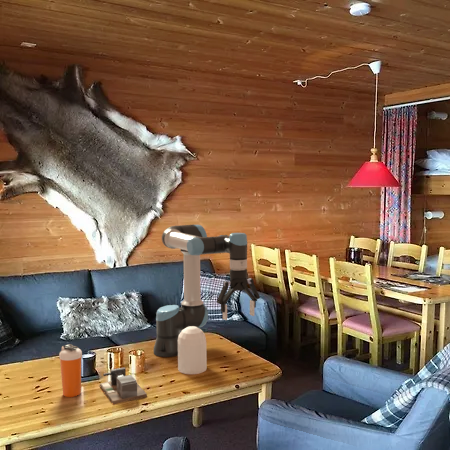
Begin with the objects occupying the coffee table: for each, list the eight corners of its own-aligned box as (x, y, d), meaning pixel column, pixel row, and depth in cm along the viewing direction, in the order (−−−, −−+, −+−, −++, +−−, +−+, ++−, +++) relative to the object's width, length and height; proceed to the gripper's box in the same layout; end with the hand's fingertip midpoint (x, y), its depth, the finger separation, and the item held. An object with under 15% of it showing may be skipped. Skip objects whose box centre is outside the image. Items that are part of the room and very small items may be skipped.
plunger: (103, 385, 213) (102, 371, 213) (124, 380, 218) (124, 367, 217) (109, 393, 205) (108, 378, 205) (131, 388, 210) (131, 374, 209)
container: (172, 368, 236) (171, 326, 234) (194, 361, 245) (194, 321, 243) (189, 376, 226) (188, 332, 224) (212, 369, 235) (212, 327, 233)
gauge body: (99, 386, 216) (99, 369, 215) (131, 379, 223) (131, 364, 222) (112, 404, 198) (112, 386, 198) (146, 396, 205) (146, 379, 204)
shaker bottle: (70, 400, 202) (69, 351, 201) (55, 395, 207) (54, 347, 205) (87, 392, 210) (86, 345, 208) (73, 387, 215) (71, 341, 213)
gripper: (216, 272, 208) (217, 323, 210) (267, 267, 220) (267, 315, 222) (208, 270, 215) (209, 319, 217) (258, 265, 227) (258, 311, 229)
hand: (238, 317), depth 219 cm, fingers open, 13 cm apart
